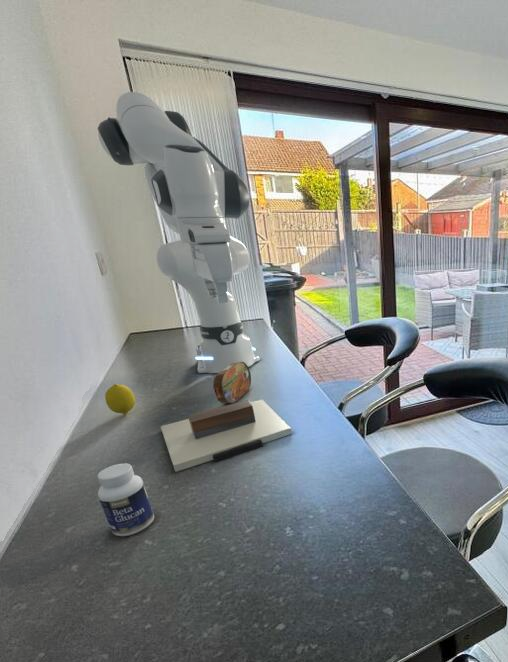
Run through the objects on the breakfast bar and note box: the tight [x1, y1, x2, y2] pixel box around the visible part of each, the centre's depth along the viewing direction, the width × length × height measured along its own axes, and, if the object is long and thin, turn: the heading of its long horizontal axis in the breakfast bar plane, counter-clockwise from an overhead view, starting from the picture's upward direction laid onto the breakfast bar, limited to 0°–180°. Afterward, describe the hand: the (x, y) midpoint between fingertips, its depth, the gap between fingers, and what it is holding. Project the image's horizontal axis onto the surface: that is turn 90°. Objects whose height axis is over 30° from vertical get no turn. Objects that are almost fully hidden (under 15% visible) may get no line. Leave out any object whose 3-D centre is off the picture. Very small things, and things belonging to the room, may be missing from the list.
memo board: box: [160, 398, 292, 473], centre depth 87 cm, size 20×22×2 cm
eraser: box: [187, 399, 256, 439], centre depth 86 cm, size 4×12×4 cm, turn 128°
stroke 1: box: [213, 450, 232, 463], centre depth 77 cm, size 1×3×1 cm
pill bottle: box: [97, 462, 155, 537], centre depth 59 cm, size 5×5×10 cm
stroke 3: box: [245, 440, 264, 452], centre depth 81 cm, size 1×3×1 cm
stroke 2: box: [229, 444, 248, 457], centre depth 79 cm, size 1×3×1 cm
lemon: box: [104, 383, 136, 415], centre depth 96 cm, size 6×6×8 cm
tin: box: [212, 362, 252, 404], centre depth 104 cm, size 15×3×8 cm, turn 179°
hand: (218, 299), depth 88 cm, fingers open, 8 cm apart
